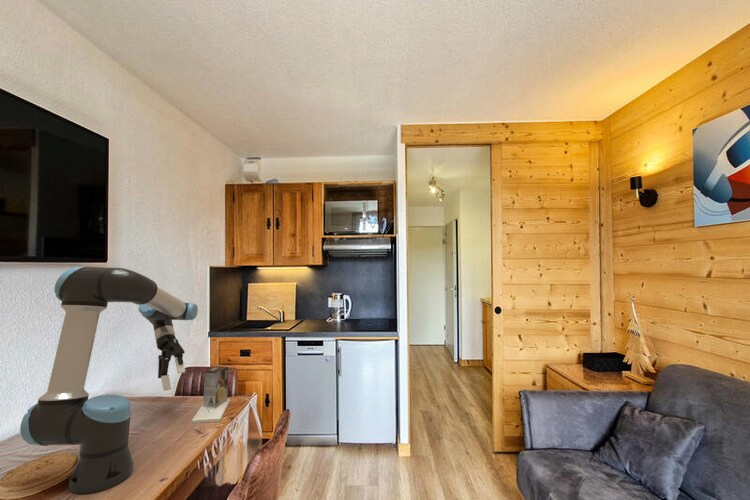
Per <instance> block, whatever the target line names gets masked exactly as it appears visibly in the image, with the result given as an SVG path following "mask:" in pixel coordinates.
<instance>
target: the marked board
mask: <svg viewBox="0 0 750 500" xmlns="http://www.w3.org/2000/svg"><path fill="white" fill-rule="evenodd" d="M230 402H231V399H230V398H227V401H225V402H224V403H222V404H221V405H219V406H217V407H216V408H211V407H203V404H202V405H201V407H200V408H199V409H198V411H197V412H196V414H195V415H194V417H193V418H192V420H191V424H204V423H206V424H207V423H216V422H217V423H218V422H221V421H222V418H223V417H224V415H225V412H226V411H227V409H228V406H229V404H230Z"/></svg>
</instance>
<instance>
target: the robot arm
mask: <svg viewBox="0 0 750 500" xmlns="http://www.w3.org/2000/svg"><path fill="white" fill-rule="evenodd" d="M53 290H54V294H55V297H56V298H57V299H58V300H59V301H61V304H60V308H62V309H63V310H64V312H65V314H64V317H63V321H62V326H61V331H60V336H59V340H58V343H57V348H56V353H55V356H54V359H53V360H54V361H53V365H52V369H51V373H50V378H49V381H48V387H47V390H46V392H45V393H44V394H42V395H41V396H40V397H38V399H37V403H36V404H34V405H32V406H30V408H28V409H27V412H25V414H24V415H23V417H22V419H21V422H20V427H19V431H20V435H21V438H22V440H23V441H25V442H26V444H29V445H32V446H42V447H47V446H63V445H64V446H67V445H68V446H69V445H70V446H71V445H74V446H75V445H78V446H79V457H78V459H77V462H76V463H75V464H76V465H75V466H74V468H73V471H72V474H71V475H70V477H69V483H68V484H69V485H68V490H69V491H70V492H71V493H73V494H77V495H78V494H79V495H83V494H84V495H86V494H93V493H97V492H102V491H105V490H107V489H110V488H113V487H114V486H117V485H119V484H120V483H122V482H124V481H126V480H127V479H128V478H129V477H130V476H131V475H132V473H133V472H134V459H133V456H132V453H131V449H130V448H129V438H130V437H129V436H130V427H131V426H130V425H131V416H132V410H131V407H132V405H131V400H130V399H129V398H128V397H126V396H124V395H122V394H121V395H120V394H105V395H96V396H93V397H90V398H89V396H90V393H89V392H88V391H87V390H86V389H85V386H86V381H87V377H88V372H89V367H90V362H91V357H92V354H93V353H92V351H93V347H94V342H95V337H96V333H97V328H98V323H99V319H100V316H101V315H100V314H101V313H102V312H103V311H104V310H106V309H107V308H108V303H130V304H131V303H132V304H134V305H138V312H139V313H140V314H141V316H142V317H144V318H145V319H146V320H147V321H148V322H150V324H152V327H153V331H154V332H153V333H154V338H155V342H156V343H155V344H156V348H157V349H158V350H160V351H161V354H159V355H158V357H157V358H158V364H157V365H158V366H157V367H158V370H157V378H158V379H160V380H161V384H162V389H163V392H164V391H170V390H171V389H172V386H171V383H170V382H171V381H170V376H169V374H168V373H169V372H168V371H169V365H170V361H171V360H172V359H171V358H172V357H173V358H174V362H175V366H176V371H177V374H184V373H185V374H186V369H185V368H186V367H185V363H184V359H183V356H184V354H185V349H183V347H182V346H181V344H180V342H179V340H178V339H177V338H176V332H175V329H174V324H173V321H193V320H194V319H196V318H197V315H198V311H199V308H198V305H197V303H193V302H185V301H183V300H181V299H179V298H177V297H176V296H175V295H172V294H171V293H169V292H167V291H165V290H164V289H163V288H160V287H159V286H158V284H157V283H156V282H155V281H154V280H152V279H151V278H149V277H147V276H145V275H143V274H141V273H138V272H136V271H134V270H130V269H128V268H122V267H106V266H105V267H102V266H101V267H100V266H81V267H80V266H77V267H70V268H68V269H67V270H66V271H64V272H62V273H61V275H60V276H59V277H58V278H57V279H56V282H55V284H54V289H53Z"/></svg>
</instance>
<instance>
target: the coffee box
mask: <svg viewBox="0 0 750 500" xmlns="http://www.w3.org/2000/svg"><path fill="white" fill-rule="evenodd" d="M203 387H204V388H203V402H202V403H203V404H202V405H203V407H211V408H216V407H217V406H219V405H221V404H222V403H224V402H225V401H227V399H228V390H229V388H228V387H229V366H220V365H219V366H218V365H217V366H214V367H212V368H210V369H208V370H205V371H204V385H203Z"/></svg>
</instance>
